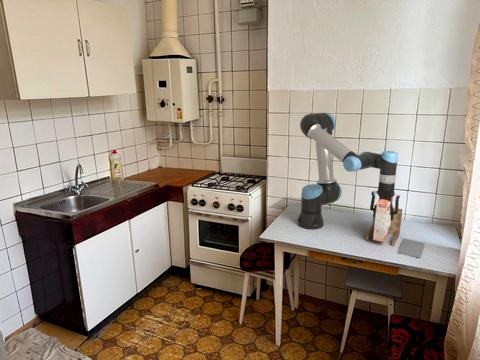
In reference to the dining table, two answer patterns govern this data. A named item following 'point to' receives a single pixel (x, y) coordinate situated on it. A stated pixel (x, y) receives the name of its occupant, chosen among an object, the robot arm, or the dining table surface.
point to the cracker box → (381, 220)
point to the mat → (411, 248)
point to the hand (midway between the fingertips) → (382, 224)
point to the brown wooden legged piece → (393, 227)
